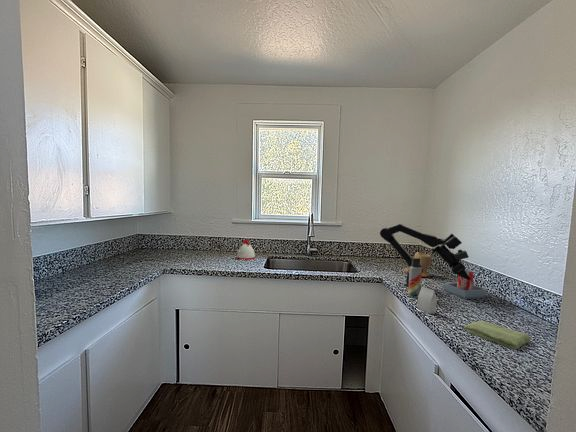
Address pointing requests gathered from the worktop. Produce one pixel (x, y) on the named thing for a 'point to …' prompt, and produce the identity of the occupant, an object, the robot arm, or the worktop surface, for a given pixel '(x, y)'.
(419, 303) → the tea bag
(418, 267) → the lotion bottle
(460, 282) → the soda can
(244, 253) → the white rounded cone
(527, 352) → the worktop surface
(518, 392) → the worktop surface
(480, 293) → the bin
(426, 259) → the stone cup
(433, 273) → the worktop surface
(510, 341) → the washcloth
